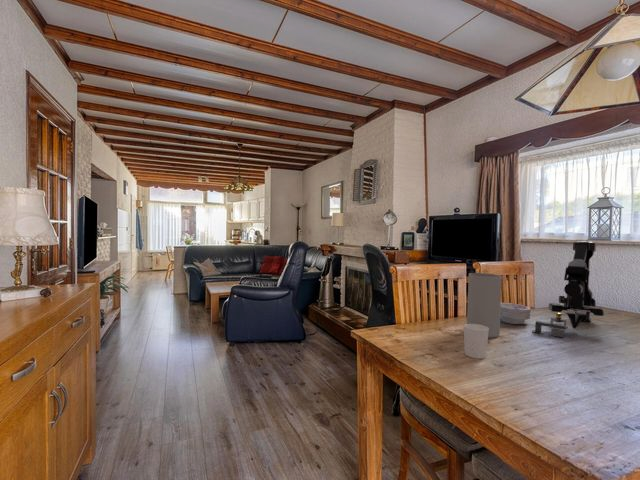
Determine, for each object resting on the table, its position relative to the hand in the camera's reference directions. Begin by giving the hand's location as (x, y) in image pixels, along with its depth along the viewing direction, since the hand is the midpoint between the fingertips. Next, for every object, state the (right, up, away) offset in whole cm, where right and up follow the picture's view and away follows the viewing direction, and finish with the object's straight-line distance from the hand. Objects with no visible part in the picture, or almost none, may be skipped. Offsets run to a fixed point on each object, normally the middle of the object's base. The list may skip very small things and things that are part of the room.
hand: (574, 328), depth 149 cm
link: (-7, -1, +1) cm, 7 cm away
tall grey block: (-43, -1, -6) cm, 44 cm away
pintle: (-1, -1, +8) cm, 8 cm away
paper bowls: (-19, -1, +15) cm, 24 cm away
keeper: (-15, -1, -5) cm, 16 cm away
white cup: (-58, -1, -31) cm, 66 cm away
